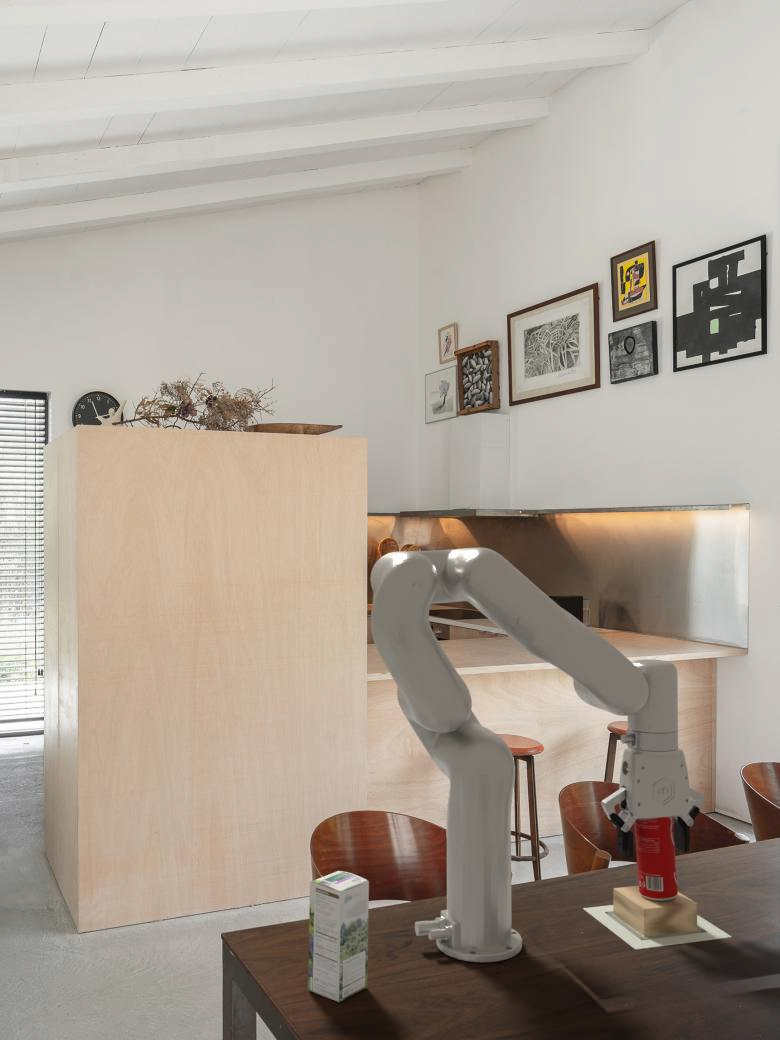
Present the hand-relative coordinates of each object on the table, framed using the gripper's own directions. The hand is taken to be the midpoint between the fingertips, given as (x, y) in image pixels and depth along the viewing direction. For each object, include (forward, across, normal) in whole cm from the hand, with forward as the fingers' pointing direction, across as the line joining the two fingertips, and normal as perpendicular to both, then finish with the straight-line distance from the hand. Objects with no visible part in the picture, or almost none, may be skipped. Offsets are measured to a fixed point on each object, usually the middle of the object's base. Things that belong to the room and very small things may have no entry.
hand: (653, 852), depth 144 cm
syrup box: (+12, -51, -6) cm, 53 cm away
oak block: (+10, 0, 0) cm, 10 cm away
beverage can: (+7, 0, 0) cm, 7 cm away
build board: (+12, 0, 0) cm, 12 cm away
